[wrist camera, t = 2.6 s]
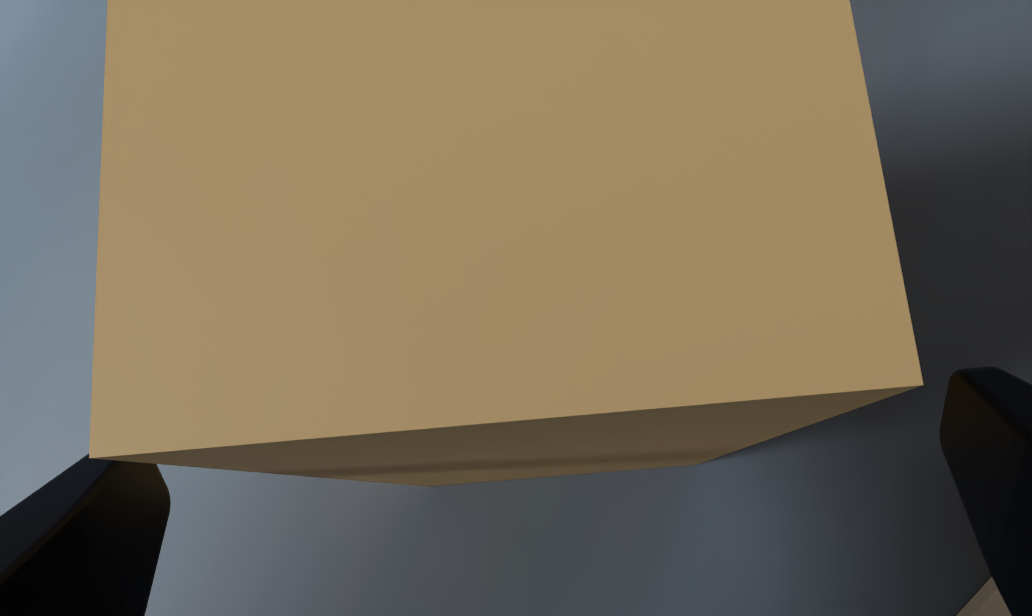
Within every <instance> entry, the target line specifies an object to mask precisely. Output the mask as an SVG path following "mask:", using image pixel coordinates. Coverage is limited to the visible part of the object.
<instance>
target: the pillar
mask: <svg viewBox="0 0 1032 616" xmlns="http://www.w3.org/2000/svg"><path fill="white" fill-rule="evenodd" d="M922 385H923V380H922V375H921V369H920V364H919V359H918V354H917V349H916V343H915V338H914V333H913V328H912V323H911V317H910V312H909V307H908V302H907V297H906V292H905V286H904V281H903V276H902V271H901V266H900V260H899V255H898V250H897V245H896V240H895V235H894V229H893V224H892V219H891V214H890V209H889V203H888V198H887V193H886V188H885V183H884V177H883V172H882V167H881V162H880V157H879V152H878V146H877V141H876V136H875V131H874V126H873V120H872V115H871V110H870V105H869V100H868V94H867V89H866V84H865V79H864V74H863V69H862V63H861V58H860V53H859V48H858V43H857V37H856V32H855V27H854V22H853V17H852V12H851V6H850V1H849V0H108V5H107V30H106V54H105V79H104V104H103V128H102V153H101V178H100V202H99V227H98V252H97V276H96V301H95V326H94V350H93V375H92V400H91V424H90V449H89V458H93V459H105V460H117V461H129V462H141V463H153V464H165V465H177V466H189V467H201V468H213V469H225V470H237V471H249V472H261V473H273V474H285V475H297V476H309V477H321V478H333V479H345V480H357V481H369V482H381V483H393V484H405V485H417V486H442V485H454V484H466V483H478V482H490V481H502V480H514V479H526V478H538V477H551V476H563V475H575V474H587V473H599V472H611V471H623V470H635V469H647V468H660V467H672V466H684V465H696V464H700V463H703V462H706V461H709V460H711V459H714V458H717V457H720V456H723V455H726V454H729V453H731V452H734V451H737V450H740V449H743V448H746V447H748V446H751V445H754V444H757V443H760V442H763V441H766V440H768V439H771V438H774V437H777V436H780V435H783V434H785V433H788V432H791V431H794V430H797V429H800V428H803V427H805V426H808V425H811V424H814V423H817V422H820V421H823V420H825V419H828V418H831V417H834V416H837V415H840V414H842V413H845V412H848V411H851V410H854V409H857V408H860V407H862V406H865V405H868V404H871V403H874V402H877V401H879V400H882V399H885V398H888V397H891V396H894V395H897V394H899V393H902V392H905V391H908V390H911V389H914V388H917V387H919V386H922Z"/></svg>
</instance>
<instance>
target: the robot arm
mask: <svg viewBox="0 0 1032 616" xmlns="http://www.w3.org/2000/svg"><path fill="white" fill-rule="evenodd" d="M940 442H941V447H942V450H943V453H944V456H945V458H946V461H947V464H948V466H949V469H950V471H951V474H952V477H953V479H954V482H955V484H956V487H957V490H958V492H959V495H960V497H961V500H962V503H963V505H964V508H965V510H966V513H967V516H968V518H969V521H970V524H971V526H972V529H973V531H974V534H975V537H976V539H977V542H978V544H979V547H980V550H981V552H982V555H983V557H984V560H985V562H986V564H987V567H988V569H989V571H990V574H991V576H992V578H993V580H994V582H995V584H996V586H997V588H998V590H999V592H1000V594H1001V596H1002V598H1003V600H1004V602H1005V604H1006V606H1007V608H1008V610H1009V612H1010V614H1011V616H1032V385H1031V384H1029V383H1027V382H1025V381H1023V380H1021V379H1019V378H1017V377H1015V376H1013V375H1012V374H1010V373H1008V372H1006V371H1004V370H1002V369H999V368H997V367H978V368H967V369H959V370H957V371H955V372H954V373H953V374H952V376H951V377H950V380H949V384H948V389H947V394H946V399H945V404H944V409H943V414H942V420H941V425H940ZM169 513H170V494H169V491H168V488H167V486H166V483H165V481H164V479H163V477H162V475H161V473H160V471H159V469H158V466H157V464H153V463H141V462H129V461H117V460H105V459H93V458H89V454H88V455H86V456H85V457H83V458H82V459H81V460H79V461H78V462H76V463H75V464H74V465H72V466H71V467H69V468H68V469H66V470H65V471H64V472H62V473H61V474H59V475H58V476H57V477H55V478H54V479H52V480H51V481H49V482H48V483H47V484H45V485H44V486H42V487H41V488H40V489H38V490H37V491H35V492H34V493H32V494H31V495H30V496H28V497H27V498H25V499H24V500H23V501H21V502H20V503H18V504H17V505H15V506H14V507H13V508H11V509H10V510H8V511H7V512H6V513H4V514H3V515H1V516H0V616H144V615H145V612H146V608H147V603H148V599H149V595H150V591H151V587H152V583H153V579H154V575H155V571H156V566H157V562H158V558H159V554H160V550H161V546H162V542H163V538H164V533H165V529H166V525H167V521H168V517H169Z"/></svg>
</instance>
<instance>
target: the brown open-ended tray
mask: <svg viewBox="0 0 1032 616" xmlns="http://www.w3.org/2000/svg"><path fill="white" fill-rule="evenodd" d="M956 616H1011V614H1010V612H1009V610H1008V608H1007V606H1006V604H1005V602H1004V600H1003V598H1002V596H1001V594H1000V592H999V590H998V588H997V586H996V584H995V582H994V580H993V578H992V577H991V578H990V579H989V580H988V581H987V582H986V583H985V584H984V585H983V587H982V588H981V589H980V590H979V591H978V592H977V593H976V594H975V595H974V597H973V598H972V599H971V600H970V601H969V602H968V603H967V604H966V605H965V606H964V608H963V609H962V610H961V611H960V612H959V613H958V614H957V615H956Z"/></svg>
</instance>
